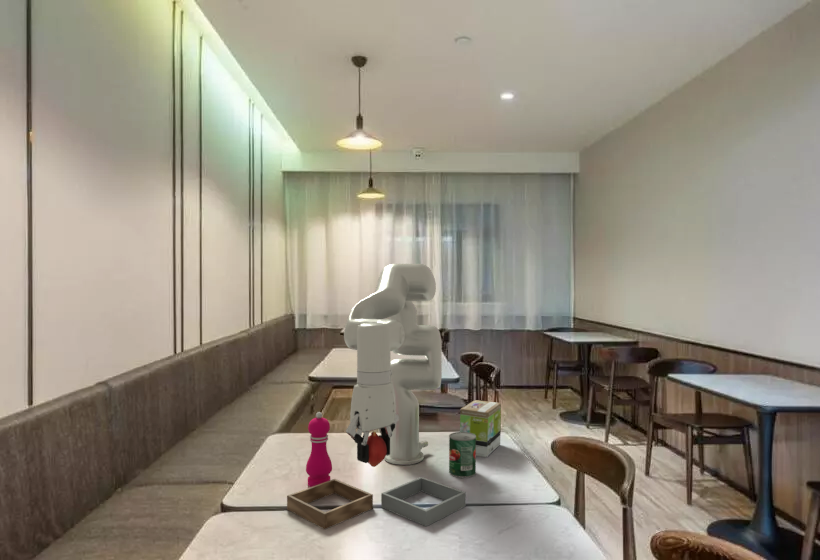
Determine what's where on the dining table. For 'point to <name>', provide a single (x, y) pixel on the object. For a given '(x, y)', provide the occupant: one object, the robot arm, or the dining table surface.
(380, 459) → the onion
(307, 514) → the walnut bin
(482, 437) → the tea box
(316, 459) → the pepper mill
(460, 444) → the canned tomato
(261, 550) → the dining table surface
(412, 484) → the grey bin
